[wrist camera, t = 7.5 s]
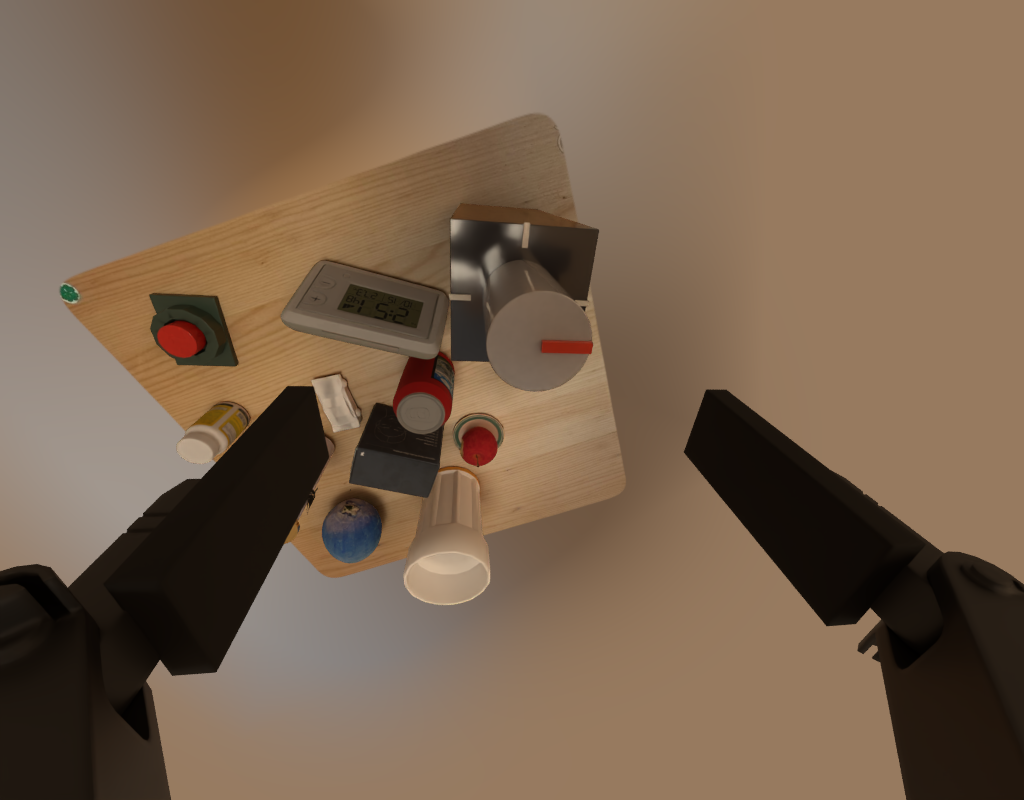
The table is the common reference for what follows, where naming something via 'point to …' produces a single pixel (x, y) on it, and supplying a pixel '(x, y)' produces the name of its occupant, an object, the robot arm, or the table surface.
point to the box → (396, 455)
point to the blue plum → (352, 530)
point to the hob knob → (533, 327)
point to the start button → (181, 339)
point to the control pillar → (504, 238)
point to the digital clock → (368, 310)
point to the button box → (203, 316)
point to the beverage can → (425, 394)
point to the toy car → (337, 402)
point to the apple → (478, 438)
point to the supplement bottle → (213, 433)
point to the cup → (449, 542)
